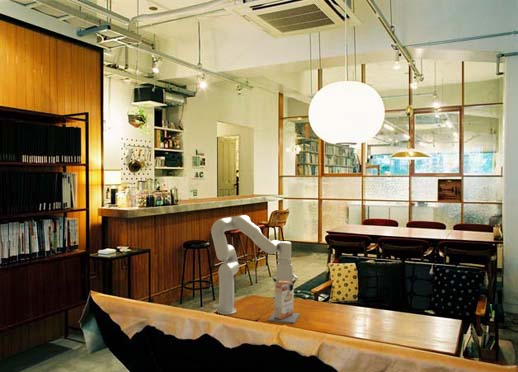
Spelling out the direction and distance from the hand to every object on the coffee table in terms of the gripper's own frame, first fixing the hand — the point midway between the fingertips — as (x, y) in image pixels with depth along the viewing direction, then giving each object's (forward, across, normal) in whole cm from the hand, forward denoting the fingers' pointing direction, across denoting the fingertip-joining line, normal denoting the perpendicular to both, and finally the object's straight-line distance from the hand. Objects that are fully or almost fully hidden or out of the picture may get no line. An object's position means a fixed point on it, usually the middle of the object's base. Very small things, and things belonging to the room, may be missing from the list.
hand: (284, 290), depth 268 cm
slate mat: (+17, 0, 0) cm, 17 cm away
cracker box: (+16, 0, 0) cm, 16 cm away
